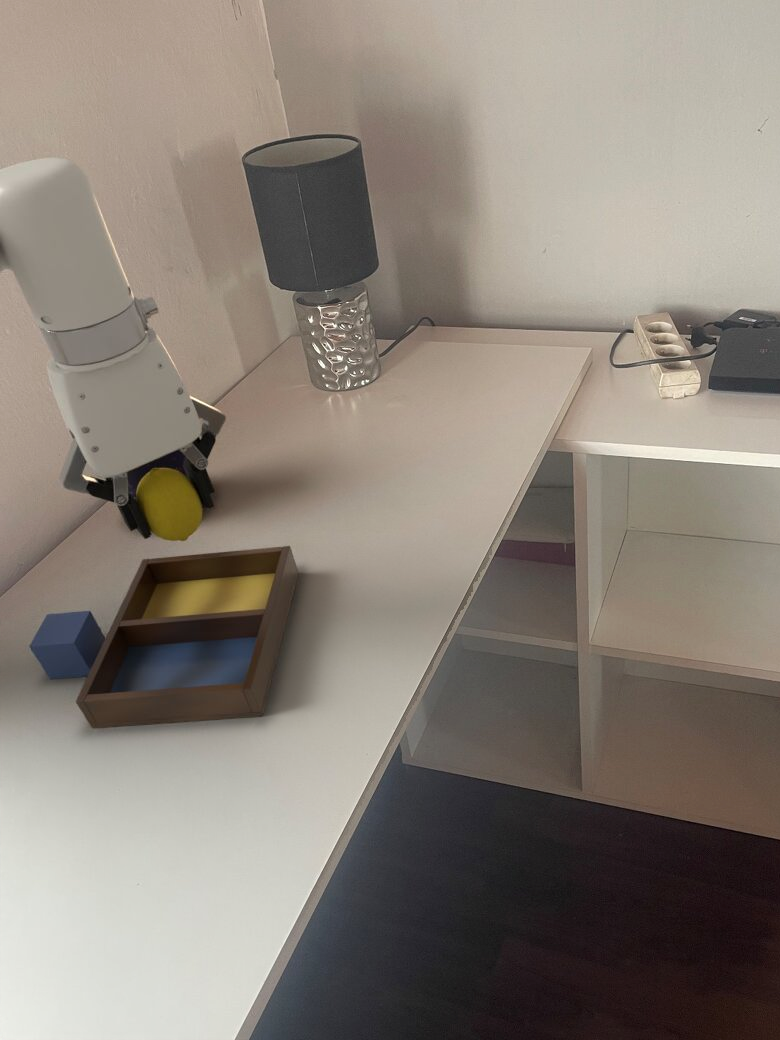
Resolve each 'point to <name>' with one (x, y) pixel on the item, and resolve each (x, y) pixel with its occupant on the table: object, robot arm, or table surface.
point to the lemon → (169, 504)
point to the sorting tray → (193, 640)
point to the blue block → (67, 644)
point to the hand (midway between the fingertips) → (174, 515)
